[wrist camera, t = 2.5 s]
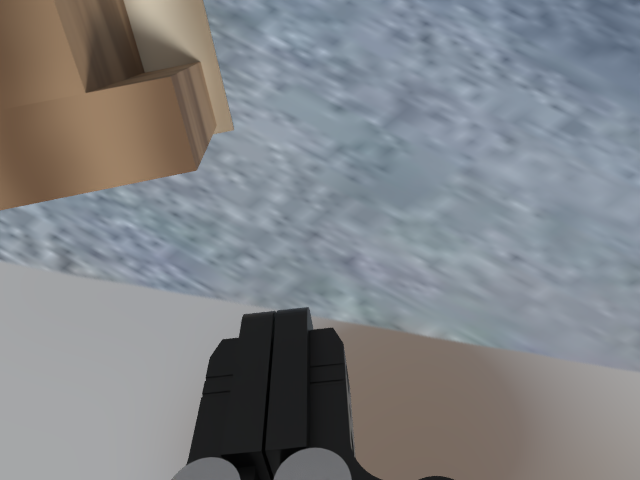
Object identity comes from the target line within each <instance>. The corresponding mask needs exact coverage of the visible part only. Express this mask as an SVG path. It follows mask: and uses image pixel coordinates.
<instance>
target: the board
mask: <svg viewBox="0 0 640 480" xmlns="http://www.w3.org/2000/svg"><path fill="white" fill-rule="evenodd" d="M124 4H125V7H126V10H127V14H128V17H129V21H130V24H131V27H132V31H133V34H134V38H135V41H136V44H137V48H138V51H139V54H140V58H141V61H142V65H143V68H144V71H145V73H146V72H151V71H156V70H161V69H166V68H171V67H176V66H182V65H187V64H192V63H197V62H201V65H202V69H203V73H204V77H205V81H206V85H207V89H208V93H209V97H210V101H211V105H212V108H213V112H214V116H215V120H216V124H217V126H216V129H215V131H214V133H213V134H217V133H222V132H227V131H232V130H234V127H233V123H232V118H231V114H230V110H229V106H228V102H227V98H226V94H225V90H224V85H223V81H222V77H221V73H220V69H219V65H218V61H217V56H216V52H215V48H214V44H213V40H212V36H211V32H210V28H209V23H208V19H207V15H206V11H205V7H204V3H203V0H124Z"/></svg>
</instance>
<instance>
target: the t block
mask: <svg viewBox="0 0 640 480" xmlns="http://www.w3.org/2000/svg"><path fill="white" fill-rule="evenodd" d="M216 126H217V124H216V120H215V116H214V112H213V108H212V105H211V101H210V97H209V93H208V89H207V85H206V81H205V77H204V73H203V69H202V65H201V62H197V63H192V64H187V65H182V66H176V67H171V68H166V69H161V70H156V71H151V72H146V73H145V71H144V68H143V65H142V61H141V58H140V54H139V51H138V48H137V44H136V41H135V38H134V34H133V31H132V27H131V24H130V21H129V17H128V14H127V10H126V7H125V4H124V0H0V210H4V209H9V208H14V207H19V206H24V205H29V204H34V203H39V202H44V201H48V200H53V199H58V198H63V197H68V196H73V195H78V194H83V193H88V192H93V191H98V190H103V189H108V188H113V187H117V186H122V185H127V184H132V183H137V182H142V181H147V180H152V179H157V178H162V177H167V176H172V175H177V174H182V173H187V172H191V171H196V170H197V169H198V167H199V164H200V162H201V160H202V158H203V155H204V153H205V151H206V149H207V146H208V144H209V142H210V140H211V138H212V135H213V133H214V131H215V129H216Z"/></svg>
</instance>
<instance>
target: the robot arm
mask: <svg viewBox="0 0 640 480" xmlns="http://www.w3.org/2000/svg"><path fill="white" fill-rule="evenodd" d="M202 394H203V397H202V398H201V402H200V407H199V411H198V416H197V421H196V426H195V430H194V435H193V440H192V444H191V449H190V453H189V458H188V462H187V464H186V466H185V467H184V468H182V469H181V470H180V471H179V472H178V473H177V474H176V475H175V476H174V477H173V479H172V480H381V479H379V478H377V477H375V476H373V475H371V474H370V473H368V472H367V471H366V470H365V469H363V468H362V467H361V465H360V464H359V463H358V462H357V460H356V458H355V447H354V435H353V422H352V410H351V398H350V397H351V396H350V386H349V379H348V372H347V365H346V358H345V352H344V344H343V342H342V341H341V339H340V338H339V336H338V335H337V333H336V332H335V330H334V329H333V328H325V329H316V330H313V325H312V320H311V314H310V310H309V307H306V308H296V309H287V310H278V311H277V312H276V311H270V312H261V313H252V314H244V315H243V317H242V322H241V329H240V334H239V338H232V339H223V340H222V341H221V342H220V344H219V345H218V347H217V348H216V350H215V351H214V353H213V354H212V355H211V357H210V360H209V364H208V369H207V374H206V381H205V383H204V388H203V393H202ZM419 480H454V479H451V478H447V477H442V476H431V477H425V478H422V479H419Z"/></svg>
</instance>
